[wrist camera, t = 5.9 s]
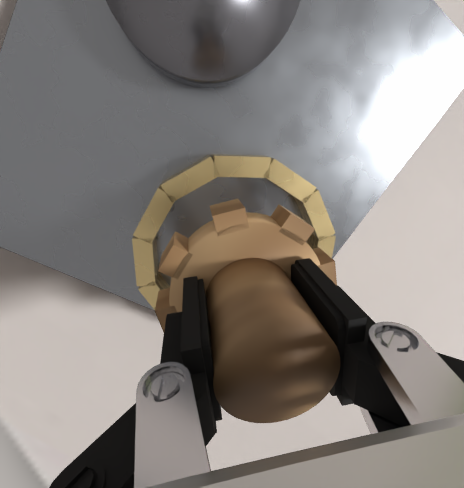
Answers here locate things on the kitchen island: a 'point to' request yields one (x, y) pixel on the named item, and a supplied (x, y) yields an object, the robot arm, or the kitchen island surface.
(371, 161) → the carrier plate
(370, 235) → the kitchen island surface
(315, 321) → the planet gear
